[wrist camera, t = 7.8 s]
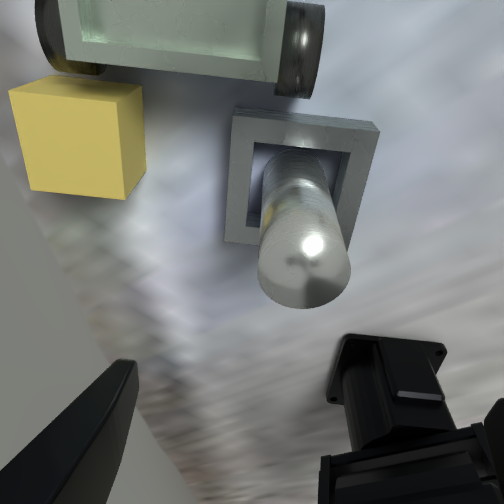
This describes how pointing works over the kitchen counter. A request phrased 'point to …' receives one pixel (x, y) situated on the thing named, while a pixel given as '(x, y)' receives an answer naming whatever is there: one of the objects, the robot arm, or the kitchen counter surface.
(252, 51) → the trolley
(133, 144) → the block
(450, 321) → the kitchen counter surface
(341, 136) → the socket
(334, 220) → the pin
